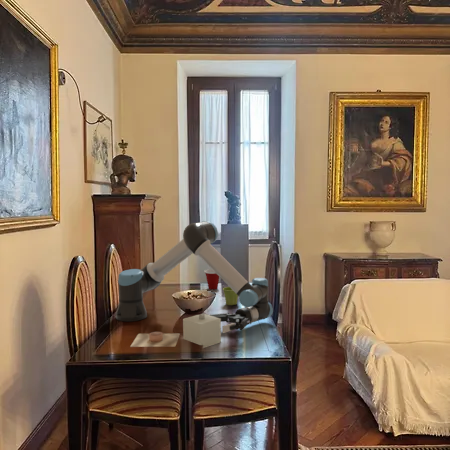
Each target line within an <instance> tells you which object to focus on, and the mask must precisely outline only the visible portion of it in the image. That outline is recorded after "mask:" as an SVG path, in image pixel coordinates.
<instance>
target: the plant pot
mask: <svg viewBox="0 0 450 450" xmlns="http://www.w3.org/2000/svg"><path fill="white" fill-rule="evenodd" d="M222 290H223V294H224V300H225V304H226V305H227V306H234V305H236V306H237V304H238V300H239V296H238V295H237V294H236V293H235V292H234V291H233V290H232V289H231V288H230V287H229V286H227V287H226V286H225V287H223V288H222Z"/></svg>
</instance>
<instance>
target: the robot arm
mask: <svg viewBox="0 0 450 450" xmlns="http://www.w3.org/2000/svg"><path fill="white" fill-rule="evenodd" d="M218 236H219V231H218V228H217V226H216V225H215V224H214V223H213V222H211V221H207V220H203V221H200V222H191V223H190V224H188V225H187V226H186V227H185V228H184V230H183V233H182V239H181V240H180V241H179V242H177V243H176V244H175V245H174V246H172V248H170V249H169V250H168V251H166V253H164V254H163V255H161V256H160V257H159V258H158V259H157V260H155V261H154V262H149V263H148V264H146V265H145V266H143V267H142V268H141V269H139V268H130V269H126V270H122V271H121V272H120V273H119V274H118V279H117V283H118V306H117V308H116V312H115V319H116V320H117V321H119V322H138V321H142V320H144V319H146V318H147V317H148V314H147V313H148V312H147V309H146V306H145V303H144V296H143V294H144V293H146V292H149V291H153V290H155V289H157V288H158V287H159V286H160V285H161V284H162V282H163V281H164V280H165V276H166V275H167V274H168V273H170V272H171V271H172V270H173V269H175V268H176V267H177V266H179V265H181V263H182V262H183V261H185V260H186V259H187V258H189V257H190V256H191V255H192V254H194V256H198V257H200V258H201V260H203V262H205V263H206V265H207V266H208V267H209V269H212V270H213V271H214V272H215V273H216V274H217V275H218V276H219V279H221V280H222V281H223V282H224V283H225V284H226V285H227V287H230V288H231V289H232V290H233V291H234V292H235V293H236V294H237V295H238V300H239V304H240V305H241V306H243V307H242V308H241V307H240V308H238V309H236V310H235V312H234V313H230V312H224V313H214V314H213V313H212V314H209V315H210V316H213V317H217V318H220V319H221V322H224V323H225V322H226V323H228V324H226V325H222V333H223V334H225V333H229V332H231V331H234V330H235V331H236V330H240V331H242V330H243V331H244V329H245V328H246V327H247V326H248V325H252V323H255V322H258V321H262V320H266V319H267V318H270V317H271V316H272V315H273V312H274V308H273V305H272V304H271V302H269V280H268V279H267V278H265V277H254V278H252V280H251V283H250V282H249V281H248V280H247V279H246V278H245V277H244V276H243V275H242V274H241V273H240V272H239V271H238V270H237V269H236V268H235V267H234V266H233V265H232V264H231V263H230V262H229V261H228V260H227V259H226V258H225V257H224V255H222V254H221V253H220V252H219V251H218V250H217V249H216V248H215V247H214V246H213V245H212V244H214V243H215V242H216V241H217V239H218Z"/></svg>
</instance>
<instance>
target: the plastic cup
mask: <svg viewBox="0 0 450 450" xmlns="http://www.w3.org/2000/svg"><path fill="white" fill-rule="evenodd" d="M203 271H204V274H205V277H206V281H207V283H206V284H207V287H208V290H217V289H219V281H220V277H219V276H218V275H217V274H216V273H215V272H214V271H213V270H212V269H211V268H208V269H204V270H203Z"/></svg>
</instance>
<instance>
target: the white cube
mask: <svg viewBox="0 0 450 450" xmlns="http://www.w3.org/2000/svg"><path fill="white" fill-rule="evenodd" d="M210 315H211V314H207V313H200V314H195V315H193V316H189V317H185V318H183V319H182V330H183V334H182V335H183V340H186V341H188V342H191V343H194V344H196V345H199V346H202V349H204V348H208V347H210V346H213V345H217V344H219V343H221V342H222V330H221V329H222V327H221V326H222V325H221V319H220V318H217V317H213V316H210Z"/></svg>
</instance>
